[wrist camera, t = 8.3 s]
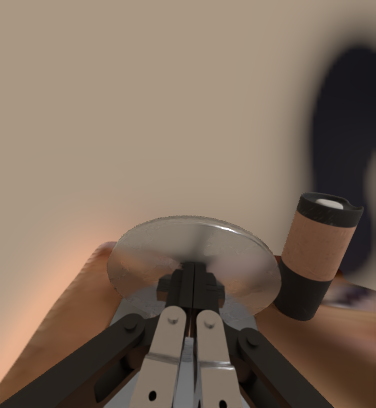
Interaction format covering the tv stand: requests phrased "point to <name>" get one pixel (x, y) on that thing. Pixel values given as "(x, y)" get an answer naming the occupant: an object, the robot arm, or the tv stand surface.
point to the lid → (194, 253)
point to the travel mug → (314, 252)
